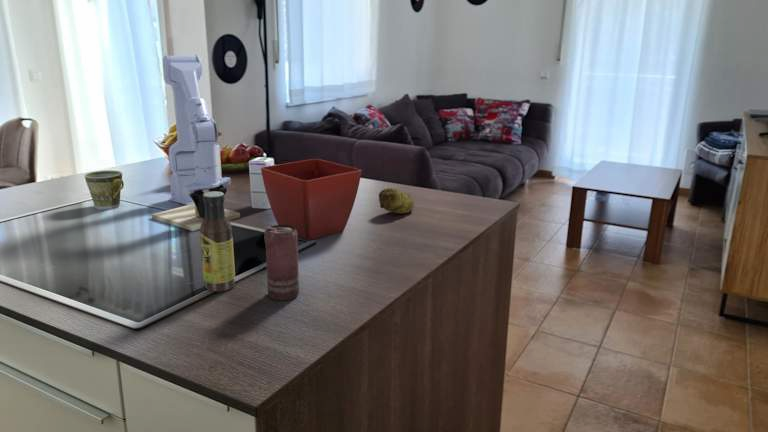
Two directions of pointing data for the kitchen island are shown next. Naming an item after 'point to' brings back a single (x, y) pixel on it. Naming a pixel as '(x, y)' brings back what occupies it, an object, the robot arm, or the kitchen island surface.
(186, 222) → the board
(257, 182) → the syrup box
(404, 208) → the yellow-green lumpy oblong piece
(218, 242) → the sauce bottle
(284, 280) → the can
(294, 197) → the plant pot
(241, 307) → the kitchen island surface
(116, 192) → the ceramic cup
